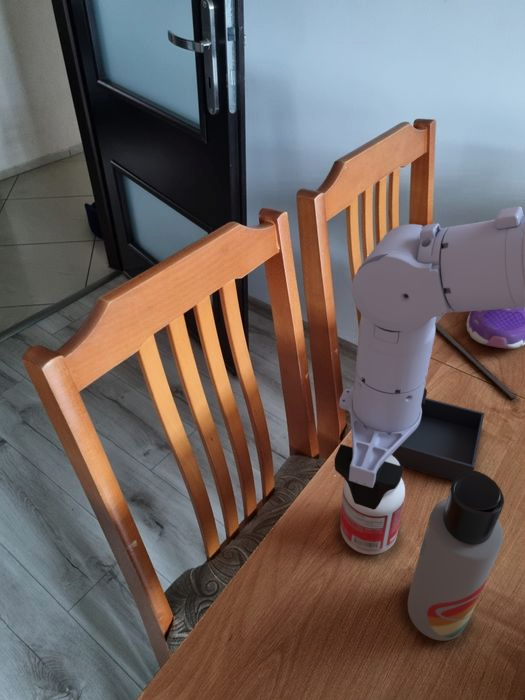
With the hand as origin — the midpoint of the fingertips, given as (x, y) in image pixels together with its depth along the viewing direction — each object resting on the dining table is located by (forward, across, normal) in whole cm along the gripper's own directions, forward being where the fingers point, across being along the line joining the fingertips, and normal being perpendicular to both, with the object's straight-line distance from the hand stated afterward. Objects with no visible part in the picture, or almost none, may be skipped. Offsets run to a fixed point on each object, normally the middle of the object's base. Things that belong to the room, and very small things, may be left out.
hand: (376, 472), depth 54 cm
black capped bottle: (+11, +6, +8) cm, 15 cm away
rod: (+10, -32, +5) cm, 34 cm away
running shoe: (+11, -46, +9) cm, 48 cm away
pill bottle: (+11, 0, 0) cm, 11 cm away
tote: (+10, -15, +5) cm, 19 cm away
